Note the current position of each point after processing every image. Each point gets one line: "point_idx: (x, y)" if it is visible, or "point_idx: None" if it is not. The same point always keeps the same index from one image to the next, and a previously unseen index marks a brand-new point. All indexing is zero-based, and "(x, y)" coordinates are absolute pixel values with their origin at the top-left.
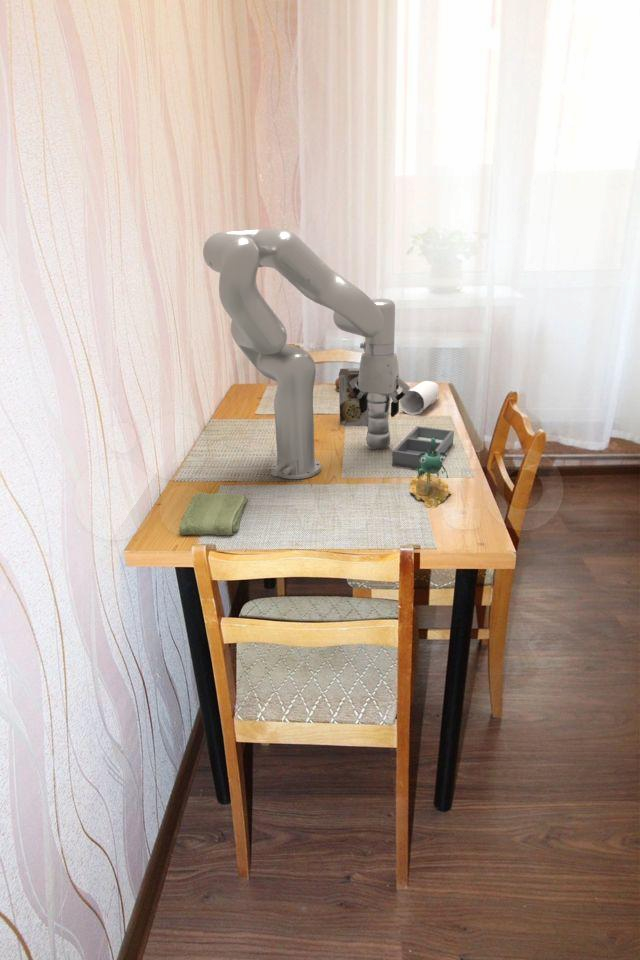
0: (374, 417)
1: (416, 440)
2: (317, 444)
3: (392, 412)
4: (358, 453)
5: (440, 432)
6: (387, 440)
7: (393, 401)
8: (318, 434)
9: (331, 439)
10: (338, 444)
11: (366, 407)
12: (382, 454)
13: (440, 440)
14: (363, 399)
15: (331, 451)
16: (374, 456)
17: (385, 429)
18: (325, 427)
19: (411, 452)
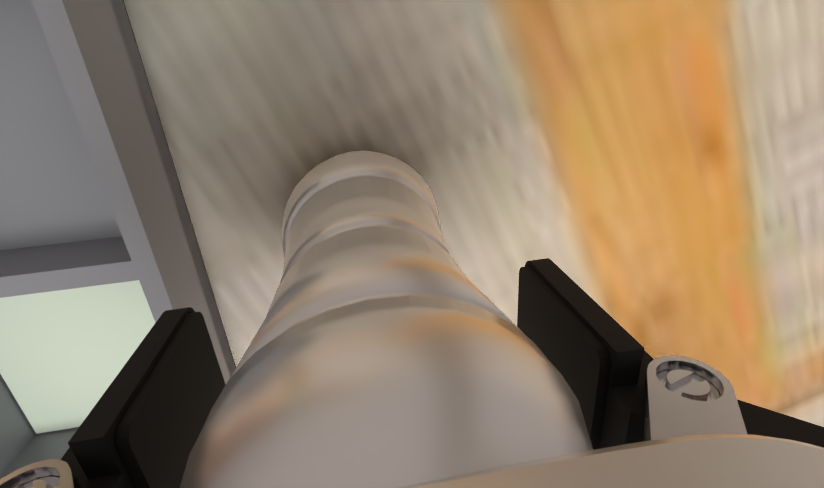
0: (365, 229)
1: (60, 268)
2: (693, 95)
3: (155, 336)
4: (424, 77)
5: None
6: (283, 219)
7: (67, 471)
8: (719, 227)
9: (639, 199)
10: (583, 152)
11: None
12: (286, 132)
13: (81, 418)
14: (598, 367)
15: (587, 28)
16: (313, 77)
17: (288, 245)
18: (705, 317)
19: (106, 197)
